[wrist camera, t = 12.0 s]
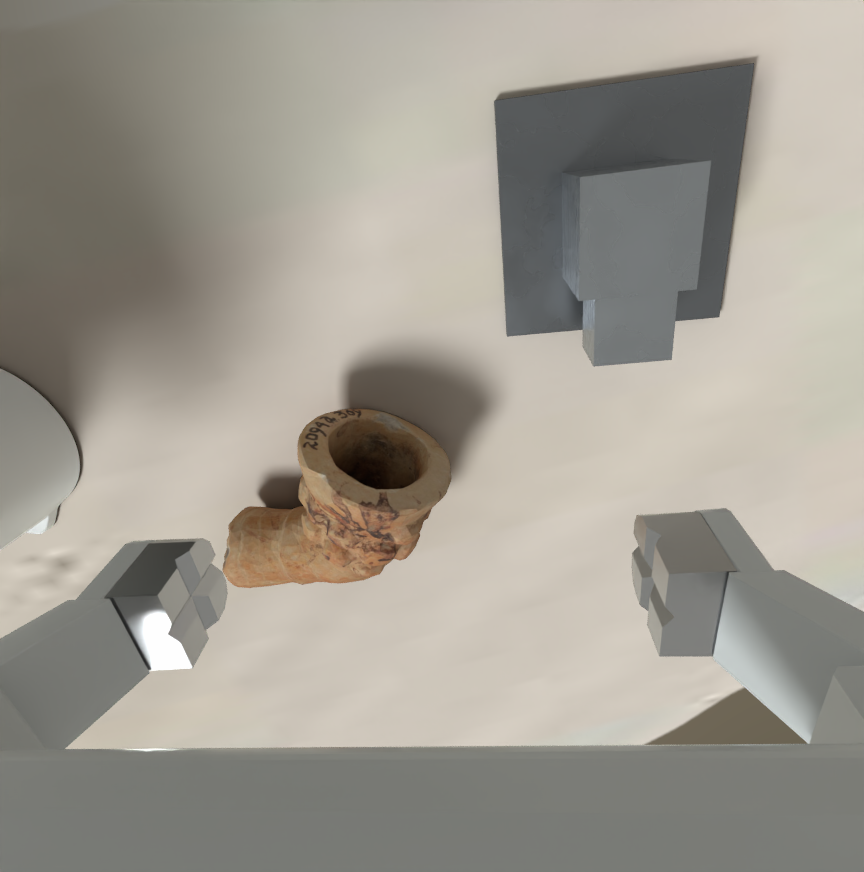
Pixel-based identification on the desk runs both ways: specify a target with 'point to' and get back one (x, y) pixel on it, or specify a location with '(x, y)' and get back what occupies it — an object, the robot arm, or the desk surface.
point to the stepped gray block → (633, 252)
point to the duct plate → (602, 147)
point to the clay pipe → (343, 504)
